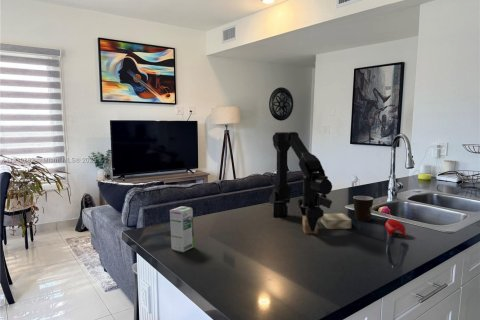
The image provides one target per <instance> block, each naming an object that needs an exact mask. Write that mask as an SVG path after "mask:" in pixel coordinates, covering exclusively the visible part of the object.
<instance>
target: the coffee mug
mask: <svg viewBox="0 0 480 320" xmlns="http://www.w3.org/2000/svg"><path fill="white" fill-rule="evenodd" d="M374 199H375V198H374V197H372V196H367V195H354V196H353V197H352V200H353V201H352V202H353V209H354V210H353V211H354V219H355V220H356V221H358V222H367V223H368V222H370V221H371V218H372V217H371V216H372V210H373V205H374V204H373V203H374Z"/></svg>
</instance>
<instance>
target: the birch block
mask: <svg viewBox="0 0 480 320" xmlns="http://www.w3.org/2000/svg"><path fill="white" fill-rule="evenodd" d="M320 223H321V224H322V225H323V226H324V227H325V228H326V230H327V229H329V230H333V229H336V230H338V229H339V230H340V229H352V219H351V218H350V217H349V216H348V215H346V214H345V213H324V216H322V217H321V218H320Z"/></svg>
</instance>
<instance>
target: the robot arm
mask: <svg viewBox="0 0 480 320" xmlns="http://www.w3.org/2000/svg"><path fill="white" fill-rule="evenodd" d="M272 143H273V144H272V145H273V147H274V149H275V151H276V182H275V183H274V185H273V187H272V193H271V194H270V196H269V197H268V200H269V204H272V212H271V214H272V217H273V218H286V217H287V218H288V214H289V212H288V211H289V210H288V204H290V203H291V198H292V186H290V185H289V183H288V152H289V150H290V148H291V149H292V150H293V152H294V153H295V155H296V157H297V159H298V166H299V168H300V171H301V172H302V174H301V175H300V177H301V178H302V190H301V194H302V198H299V199H298V200H297V206H298V207H299V210H300V213H301V215H302V217H303V216H306V218H307V221H308V224H309V227H310V229H311V231H314V230H315V227H316V223H317V220H318V221H319V219H321V217H322V216H324V214H325V213H324V212H325V211H324V210H323V209H322V208H321V206H322V207H325V208H327V209H331V207H332V203H333V200H331V199H330V198H328V197H327V195H329V194H330V193H331V191H332V189H333V183H332V182H331V181H330V180H329V176H327V175H326V172H325V170H324V168H323V166H322V163H321V161H320V160H319V158H318V157H317V156H316V155H315V154H312V153H311V152H310V151H309V150H308V148H307V147H306V146H305V144H304V143H303V141H302V139H301V138H300V136H299V133H298V132H296V131H287V132H286V131H283V132H282V131H277V132H275V133H274V134H273V135H272Z"/></svg>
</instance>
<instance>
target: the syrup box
mask: <svg viewBox="0 0 480 320" xmlns="http://www.w3.org/2000/svg"><path fill="white" fill-rule="evenodd" d="M169 220H170V223H169V224H170V243H171V250H174V251H176V252H179V253H181V252H182V253H185V252H186V251H188V250H190V249H192V248H194V247H195V239H194V237H195V235H194V212H193V208H192V207H190V206H184V205H183V206H179V207H175V208H172V209H169Z"/></svg>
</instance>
